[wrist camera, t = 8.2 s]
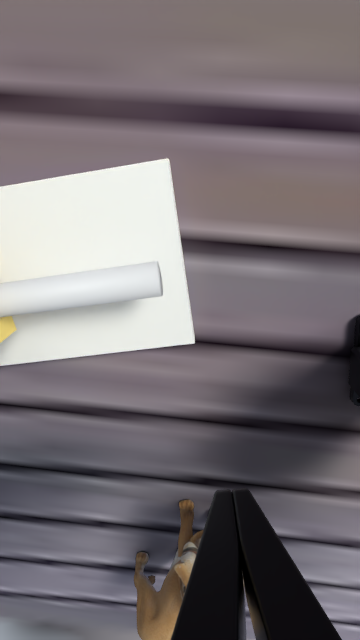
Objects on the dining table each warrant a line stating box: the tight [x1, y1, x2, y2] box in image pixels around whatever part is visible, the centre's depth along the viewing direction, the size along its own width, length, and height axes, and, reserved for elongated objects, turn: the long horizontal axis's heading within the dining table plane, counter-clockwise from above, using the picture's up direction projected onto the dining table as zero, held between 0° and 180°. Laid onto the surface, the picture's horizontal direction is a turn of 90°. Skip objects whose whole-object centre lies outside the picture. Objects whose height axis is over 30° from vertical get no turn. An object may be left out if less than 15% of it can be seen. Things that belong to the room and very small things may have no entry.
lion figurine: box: [134, 499, 244, 640], centre depth 23 cm, size 15×5×9 cm, turn 159°
